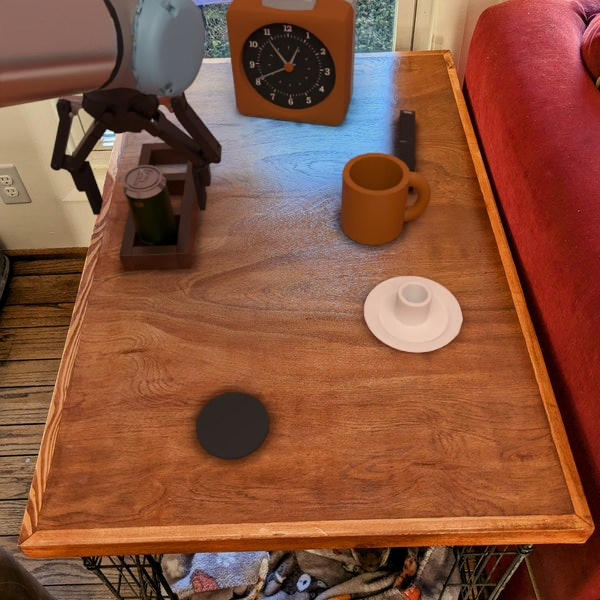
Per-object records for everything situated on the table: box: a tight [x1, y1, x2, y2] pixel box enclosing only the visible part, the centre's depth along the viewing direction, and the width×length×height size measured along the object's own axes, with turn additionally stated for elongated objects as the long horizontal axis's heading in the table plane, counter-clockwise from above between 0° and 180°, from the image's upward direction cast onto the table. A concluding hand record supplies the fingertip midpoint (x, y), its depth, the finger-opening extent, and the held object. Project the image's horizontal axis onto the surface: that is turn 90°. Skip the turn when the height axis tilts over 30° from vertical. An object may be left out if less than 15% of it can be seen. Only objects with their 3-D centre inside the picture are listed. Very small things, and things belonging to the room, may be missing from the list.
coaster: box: [195, 392, 270, 460], centre depth 69 cm, size 8×8×1 cm
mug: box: [340, 152, 432, 246], centre depth 85 cm, size 9×12×9 cm
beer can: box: [122, 165, 179, 247], centre depth 82 cm, size 5×5×12 cm
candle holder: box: [363, 275, 464, 353], centre depth 76 cm, size 12×12×4 cm
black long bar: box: [396, 109, 416, 193], centre depth 97 cm, size 18×3×3 cm, turn 173°
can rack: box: [118, 142, 199, 272], centre depth 90 cm, size 9×24×3 cm, turn 2°
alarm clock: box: [225, 0, 358, 127], centre depth 99 cm, size 18×9×21 cm, turn 77°
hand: (151, 205), depth 81 cm, fingers open, 13 cm apart
